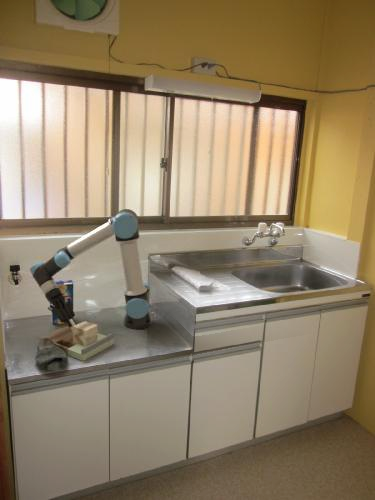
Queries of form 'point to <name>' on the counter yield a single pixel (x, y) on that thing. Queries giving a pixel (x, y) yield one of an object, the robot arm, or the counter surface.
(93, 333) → the birch block
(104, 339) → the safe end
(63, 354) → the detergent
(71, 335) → the box
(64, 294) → the beverage box
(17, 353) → the counter surface
